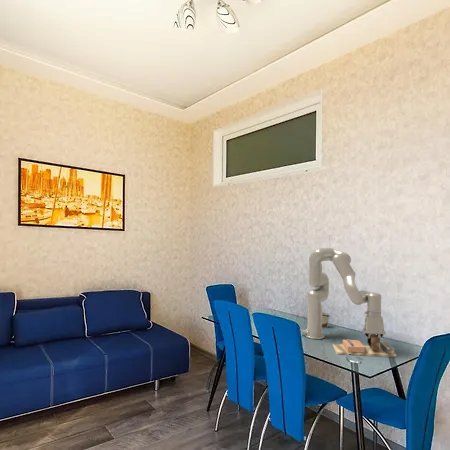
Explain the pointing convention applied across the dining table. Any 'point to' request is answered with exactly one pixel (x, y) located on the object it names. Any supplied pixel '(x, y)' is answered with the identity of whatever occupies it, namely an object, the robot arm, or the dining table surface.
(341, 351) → the vise
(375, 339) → the walnut block
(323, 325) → the food container
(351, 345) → the block
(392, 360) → the dining table surface
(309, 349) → the dining table surface
